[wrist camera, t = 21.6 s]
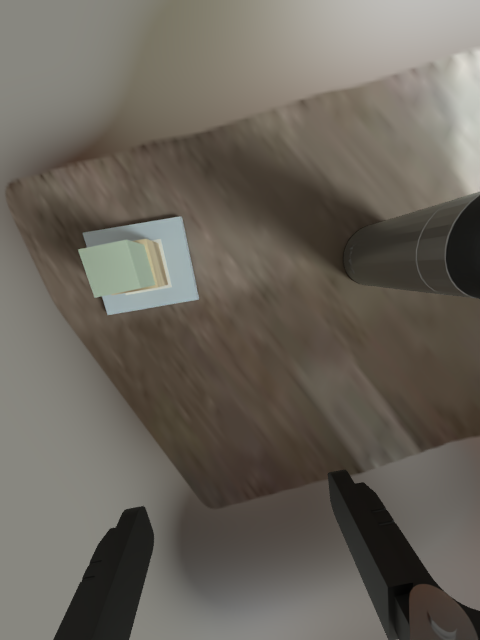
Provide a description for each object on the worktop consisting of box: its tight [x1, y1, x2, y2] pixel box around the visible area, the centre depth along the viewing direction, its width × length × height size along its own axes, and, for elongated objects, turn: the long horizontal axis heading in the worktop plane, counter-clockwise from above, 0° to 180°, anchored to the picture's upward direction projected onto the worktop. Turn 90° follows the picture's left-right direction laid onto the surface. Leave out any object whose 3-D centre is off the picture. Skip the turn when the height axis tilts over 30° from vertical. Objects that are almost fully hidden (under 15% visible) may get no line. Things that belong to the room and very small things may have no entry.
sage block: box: [78, 240, 155, 298], centre depth 26 cm, size 5×5×5 cm
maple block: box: [112, 239, 168, 295], centre depth 31 cm, size 6×6×5 cm
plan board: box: [83, 216, 199, 315], centre depth 34 cm, size 14×12×1 cm
